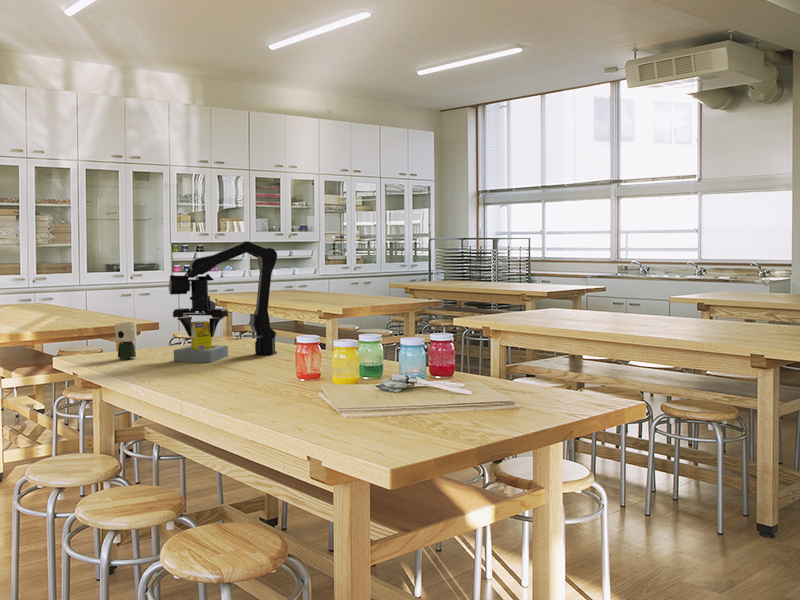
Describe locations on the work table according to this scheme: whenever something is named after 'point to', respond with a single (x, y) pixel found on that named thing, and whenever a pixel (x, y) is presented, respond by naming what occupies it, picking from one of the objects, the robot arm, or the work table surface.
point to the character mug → (126, 339)
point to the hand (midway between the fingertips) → (201, 336)
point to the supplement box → (201, 335)
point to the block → (201, 354)
